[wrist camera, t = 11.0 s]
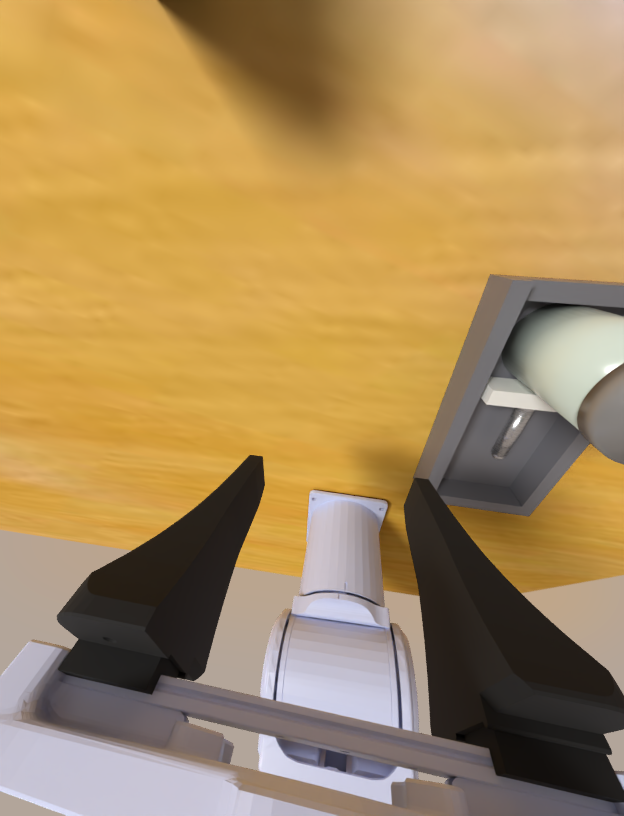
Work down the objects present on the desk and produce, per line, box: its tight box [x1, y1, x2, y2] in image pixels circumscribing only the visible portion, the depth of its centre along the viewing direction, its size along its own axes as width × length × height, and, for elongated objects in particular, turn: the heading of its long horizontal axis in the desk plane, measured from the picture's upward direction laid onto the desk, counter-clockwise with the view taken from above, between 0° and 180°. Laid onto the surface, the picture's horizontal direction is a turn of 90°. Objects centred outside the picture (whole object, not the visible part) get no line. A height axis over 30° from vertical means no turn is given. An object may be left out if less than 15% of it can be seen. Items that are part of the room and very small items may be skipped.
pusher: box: [481, 377, 557, 460], centre depth 18 cm, size 6×6×2 cm
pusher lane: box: [413, 274, 624, 516], centre depth 18 cm, size 17×9×3 cm, turn 177°
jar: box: [501, 303, 624, 464], centre depth 13 cm, size 5×5×8 cm
